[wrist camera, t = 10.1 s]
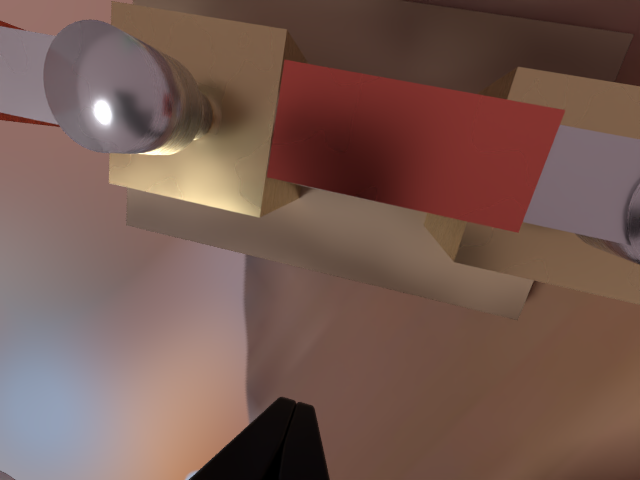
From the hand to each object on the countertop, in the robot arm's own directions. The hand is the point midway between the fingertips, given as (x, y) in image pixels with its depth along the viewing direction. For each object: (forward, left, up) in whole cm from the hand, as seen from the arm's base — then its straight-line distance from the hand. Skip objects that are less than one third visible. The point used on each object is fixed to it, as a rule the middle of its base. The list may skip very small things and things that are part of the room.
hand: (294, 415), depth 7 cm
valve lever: (+6, -3, -2) cm, 7 cm away
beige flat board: (+6, +2, -11) cm, 13 cm away
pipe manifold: (+6, +2, -10) cm, 12 cm away
